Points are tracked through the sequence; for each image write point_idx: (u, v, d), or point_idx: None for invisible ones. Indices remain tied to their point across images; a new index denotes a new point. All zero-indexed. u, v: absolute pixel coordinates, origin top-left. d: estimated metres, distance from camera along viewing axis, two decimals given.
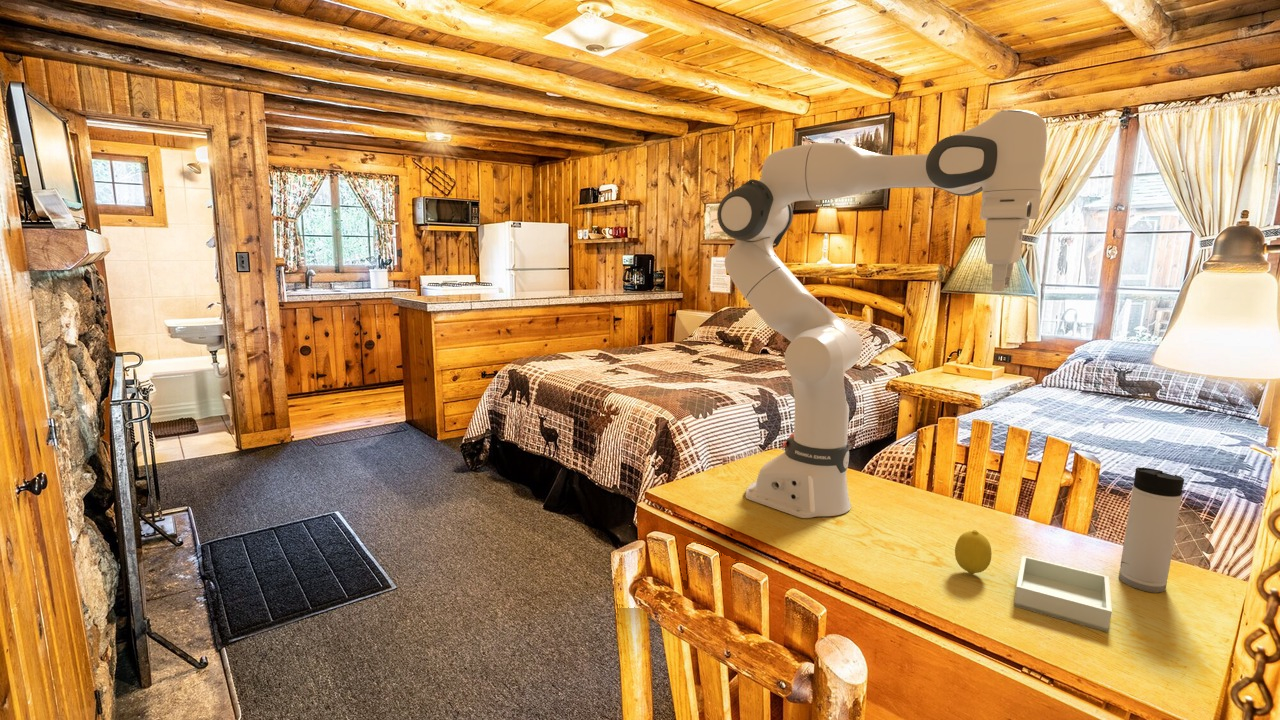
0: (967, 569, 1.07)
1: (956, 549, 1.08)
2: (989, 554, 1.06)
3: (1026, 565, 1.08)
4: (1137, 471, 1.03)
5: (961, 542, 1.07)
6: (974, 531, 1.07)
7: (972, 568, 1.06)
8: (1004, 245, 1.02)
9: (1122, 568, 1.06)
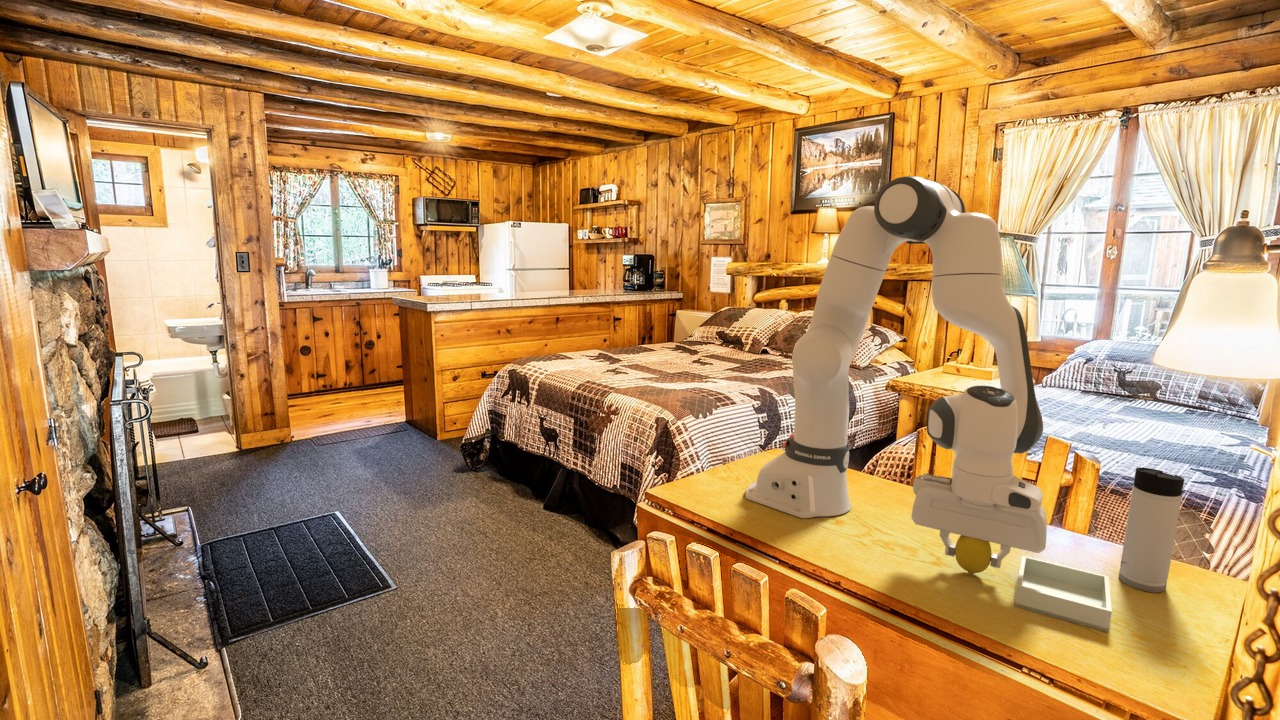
0: (967, 569, 1.07)
1: (956, 549, 1.08)
2: (989, 554, 1.06)
3: (1026, 565, 1.08)
4: (1137, 471, 1.03)
5: (961, 542, 1.07)
6: None
7: (972, 568, 1.06)
8: (1046, 531, 1.02)
9: (1122, 568, 1.06)
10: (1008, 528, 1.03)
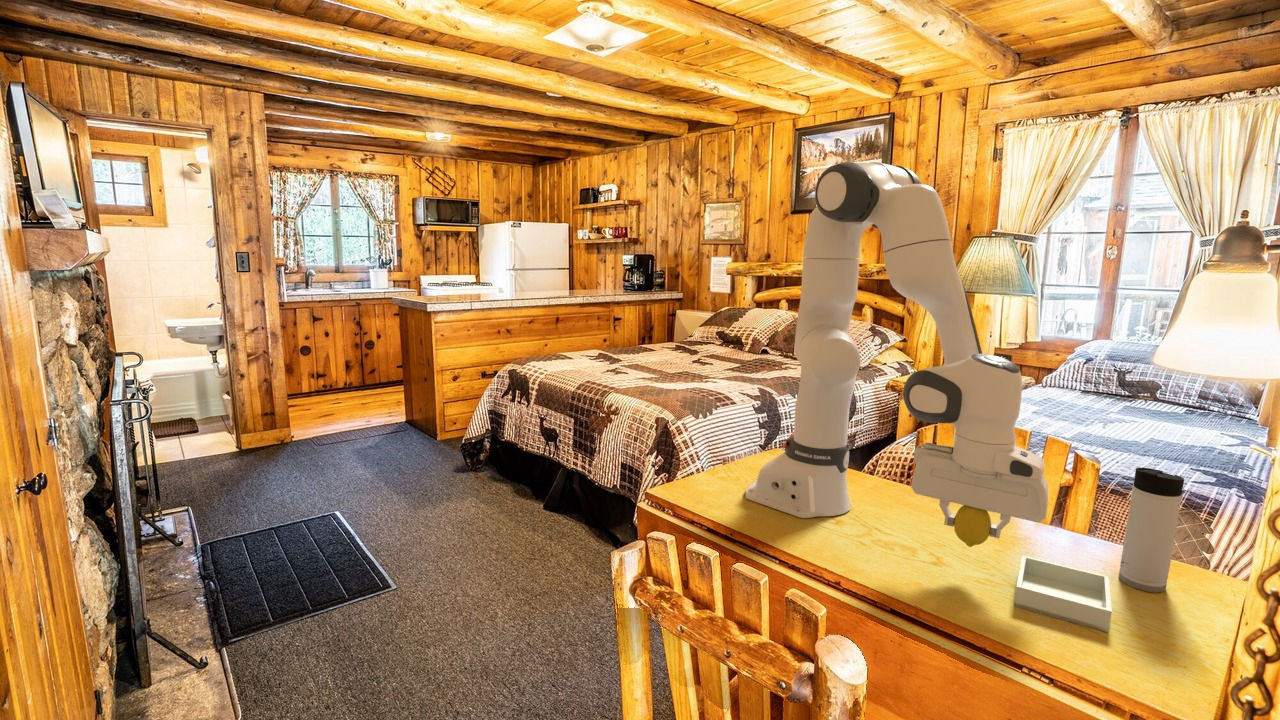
0: (966, 541, 1.06)
1: (955, 521, 1.08)
2: (988, 526, 1.05)
3: (1026, 565, 1.08)
4: (1137, 471, 1.03)
5: (961, 513, 1.06)
6: None
7: (971, 539, 1.05)
8: (1047, 501, 1.01)
9: (1122, 568, 1.06)
10: (1009, 497, 1.02)
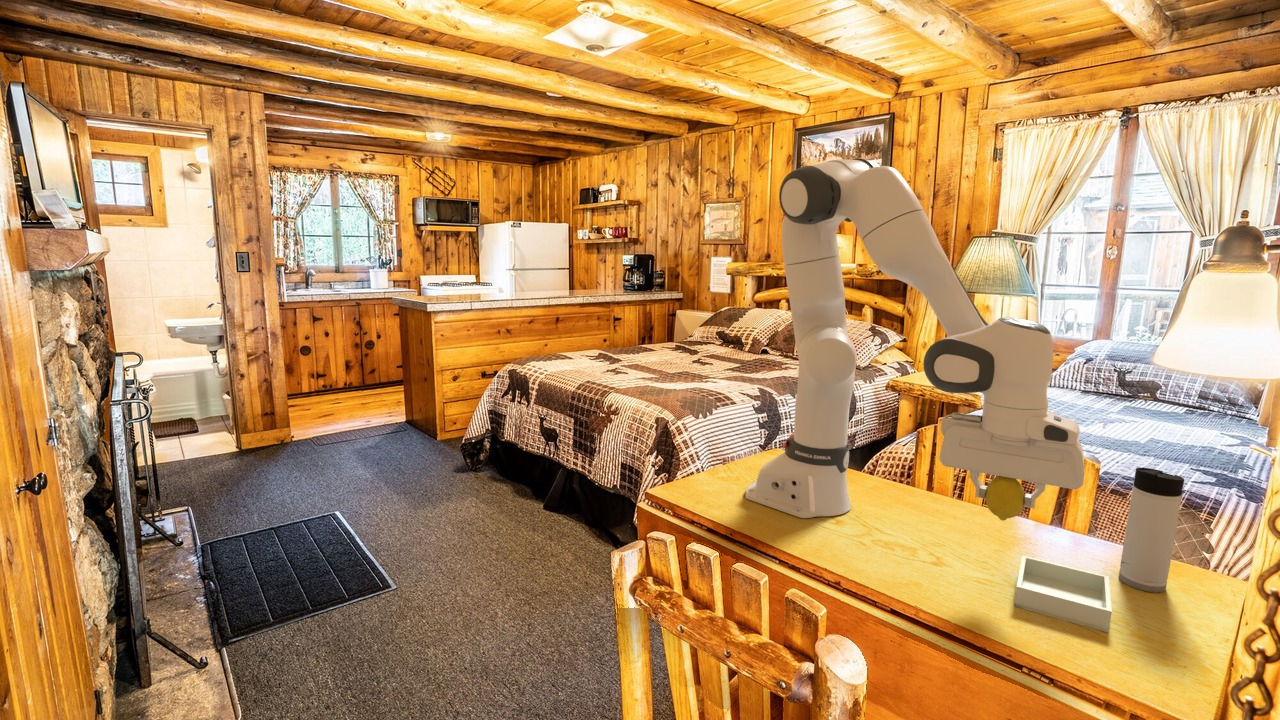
0: (999, 514, 1.02)
1: (987, 494, 1.04)
2: (1022, 498, 1.01)
3: (1026, 565, 1.08)
4: (1137, 471, 1.03)
5: (993, 486, 1.03)
6: None
7: (1004, 512, 1.02)
8: None
9: (1122, 568, 1.06)
10: (1043, 464, 0.98)
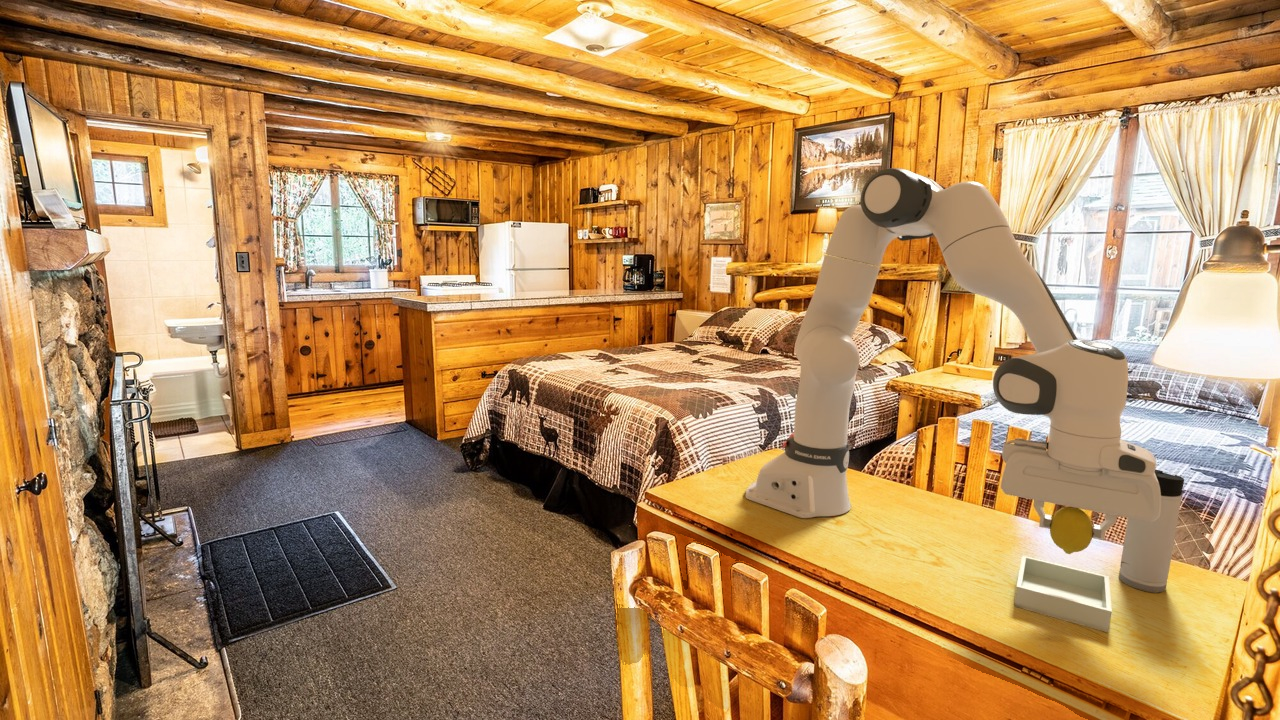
0: (1066, 548, 0.98)
1: (1052, 526, 0.99)
2: (1091, 531, 0.96)
3: (1026, 565, 1.08)
4: None
5: (1059, 518, 0.98)
6: None
7: (1072, 546, 0.97)
8: None
9: (1122, 568, 1.06)
10: (1116, 495, 0.93)
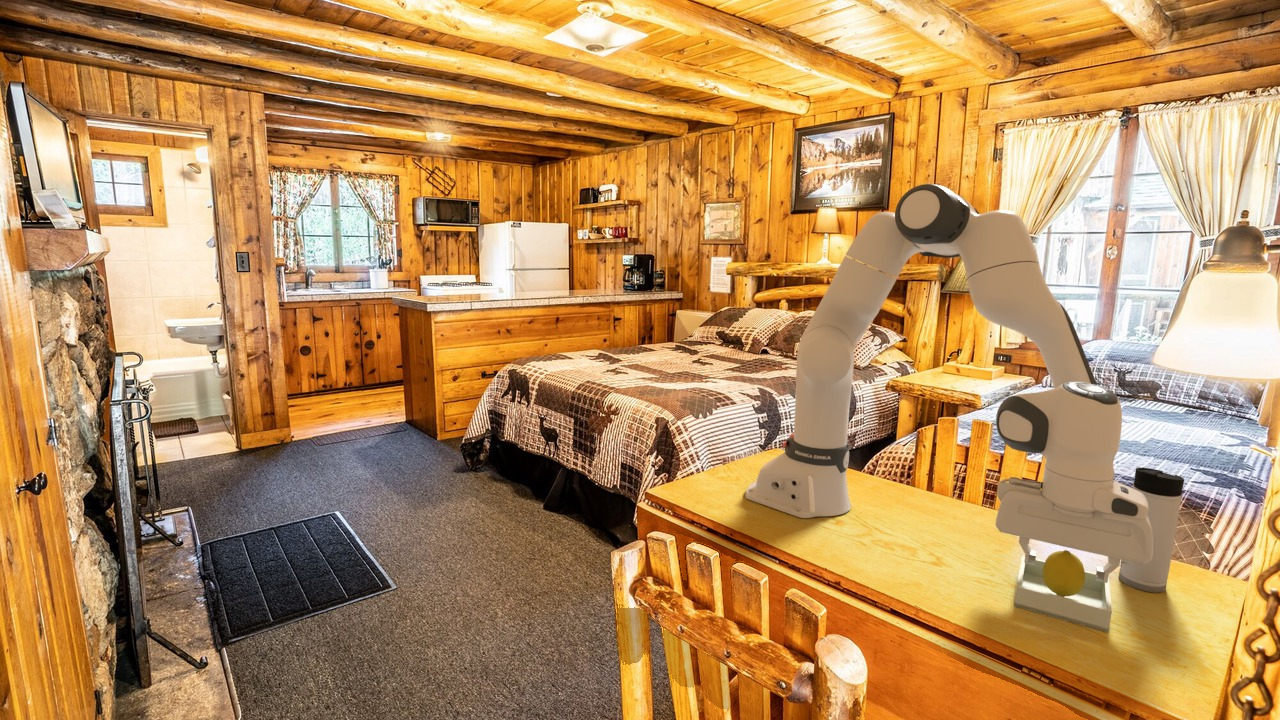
0: (1058, 592, 0.99)
1: (1045, 570, 1.00)
2: (1083, 576, 0.98)
3: (1026, 565, 1.08)
4: (1137, 471, 1.03)
5: (1052, 563, 0.99)
6: (1065, 551, 0.99)
7: (1064, 591, 0.98)
8: None
9: (1122, 568, 1.06)
10: (1109, 537, 0.94)
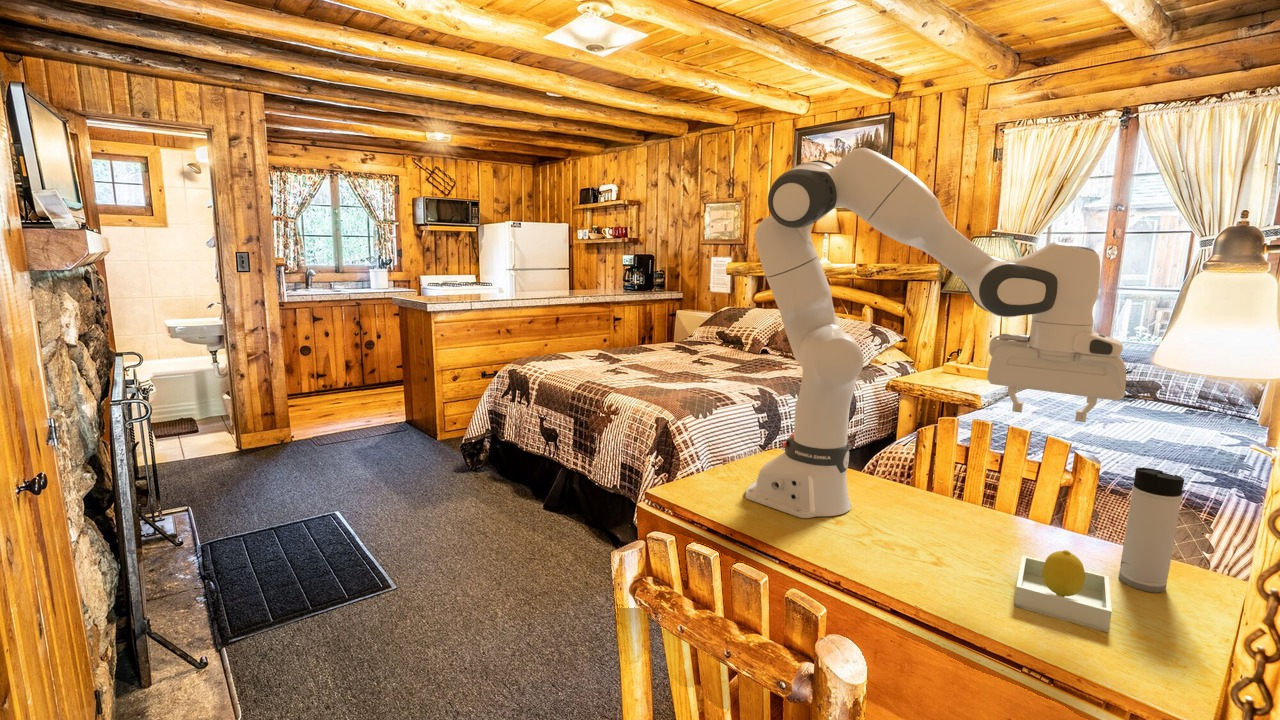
0: (1058, 592, 0.99)
1: (1045, 570, 1.00)
2: (1083, 576, 0.98)
3: (1026, 565, 1.08)
4: (1137, 471, 1.03)
5: (1052, 563, 0.99)
6: (1065, 551, 0.99)
7: (1064, 591, 0.98)
8: None
9: (1122, 568, 1.06)
10: (1087, 378, 1.06)
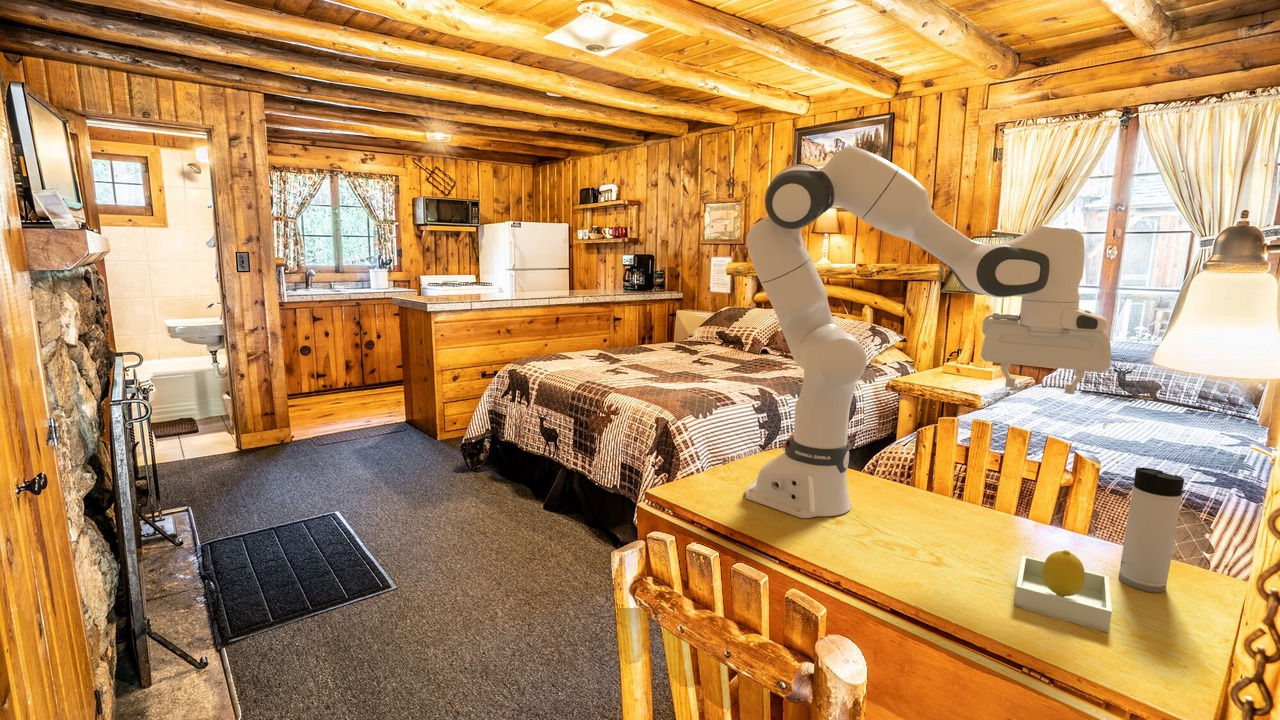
0: (1058, 592, 0.99)
1: (1045, 570, 1.00)
2: (1083, 576, 0.98)
3: (1026, 565, 1.08)
4: (1137, 471, 1.03)
5: (1052, 563, 0.99)
6: (1065, 551, 0.99)
7: (1064, 591, 0.98)
8: None
9: (1122, 568, 1.06)
10: (1075, 352, 1.12)
